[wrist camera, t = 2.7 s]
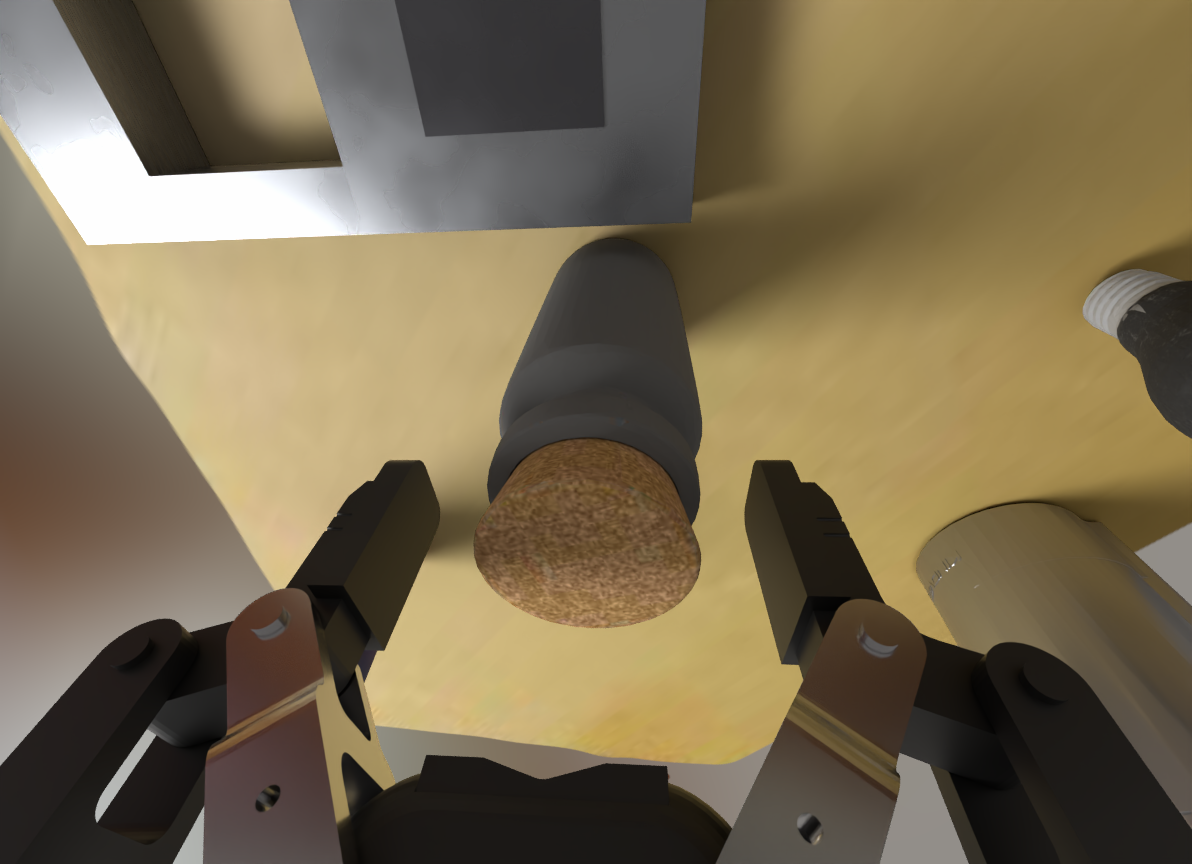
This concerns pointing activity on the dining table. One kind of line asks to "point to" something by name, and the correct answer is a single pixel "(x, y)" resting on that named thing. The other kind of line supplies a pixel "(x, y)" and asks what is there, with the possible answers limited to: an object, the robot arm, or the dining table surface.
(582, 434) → the bottle
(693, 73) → the panel
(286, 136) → the dining table surface
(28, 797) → the robot arm
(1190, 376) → the light bulb
